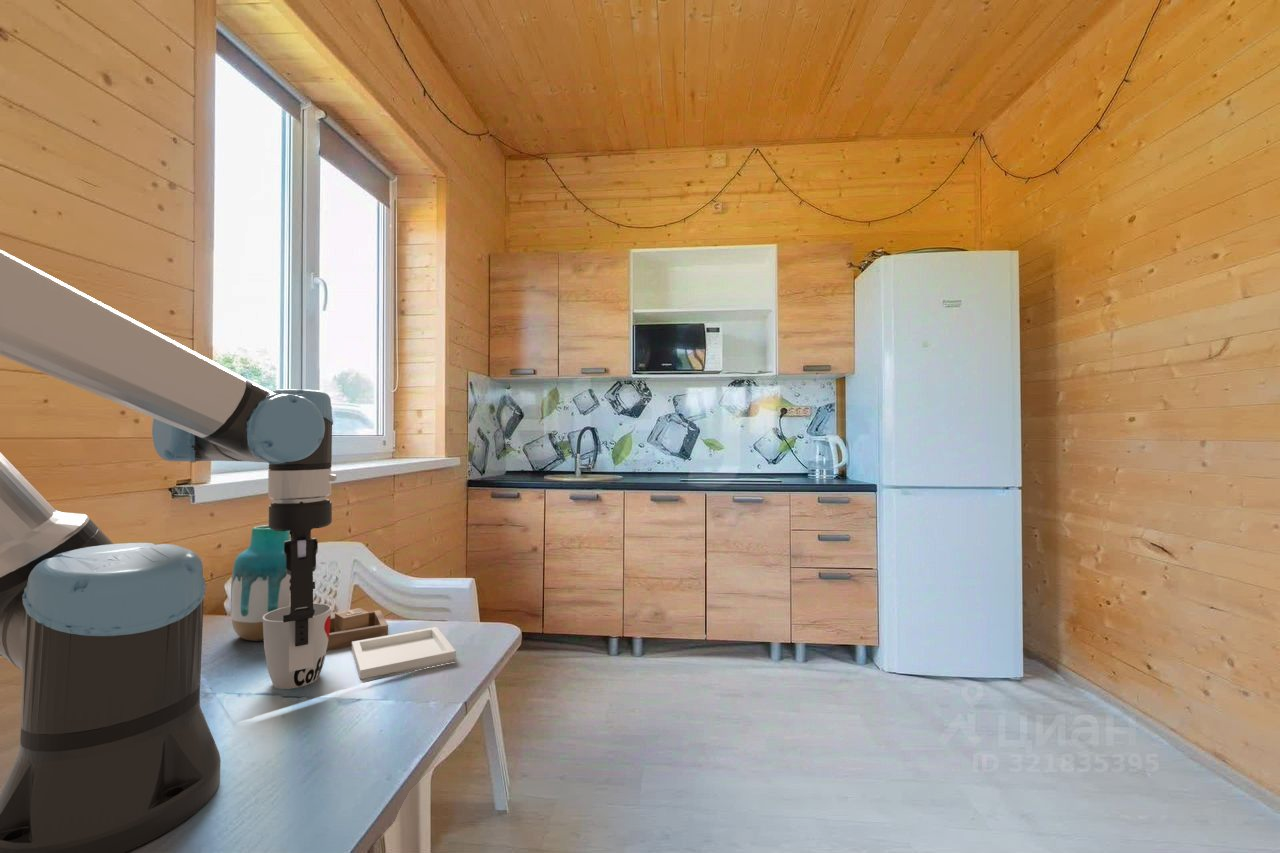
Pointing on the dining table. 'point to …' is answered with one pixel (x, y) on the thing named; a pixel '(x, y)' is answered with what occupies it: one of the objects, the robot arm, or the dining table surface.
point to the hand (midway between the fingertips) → (300, 651)
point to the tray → (401, 653)
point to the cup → (279, 647)
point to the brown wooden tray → (357, 632)
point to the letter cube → (351, 619)
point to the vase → (259, 582)
